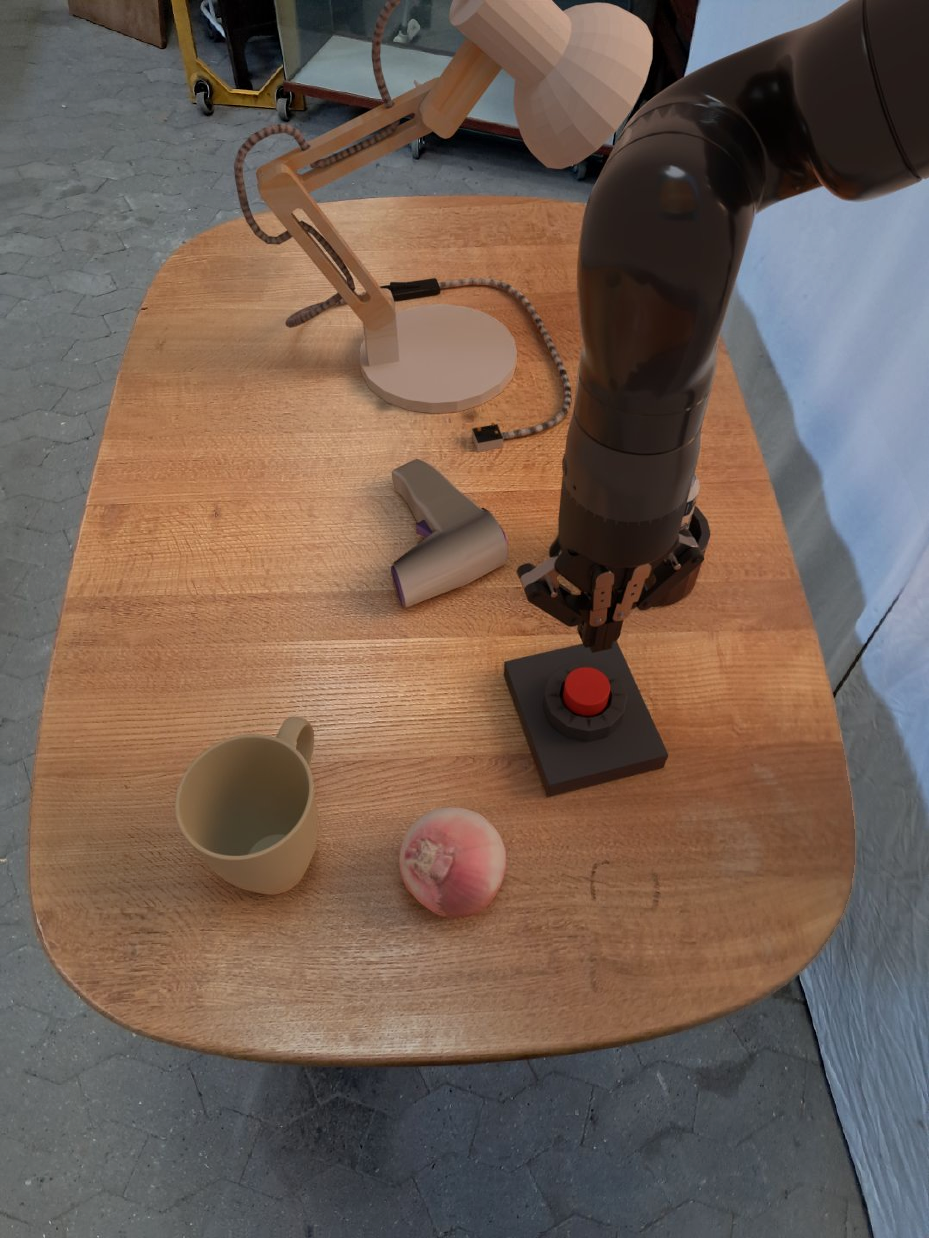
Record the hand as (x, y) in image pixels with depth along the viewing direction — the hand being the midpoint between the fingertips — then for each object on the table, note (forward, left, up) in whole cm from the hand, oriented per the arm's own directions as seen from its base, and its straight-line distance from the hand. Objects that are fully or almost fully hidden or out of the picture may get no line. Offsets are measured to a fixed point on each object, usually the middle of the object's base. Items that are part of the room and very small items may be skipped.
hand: (597, 641), depth 67 cm
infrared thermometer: (+24, -4, -12) cm, 27 cm away
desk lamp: (+42, -25, -12) cm, 50 cm away
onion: (-2, +17, -12) cm, 21 cm away
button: (0, 0, -8) cm, 8 cm away
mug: (+9, +25, -12) cm, 29 cm away
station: (0, 0, -11) cm, 11 cm away
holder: (+6, -17, -11) cm, 21 cm away
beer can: (+6, -17, -11) cm, 21 cm away
